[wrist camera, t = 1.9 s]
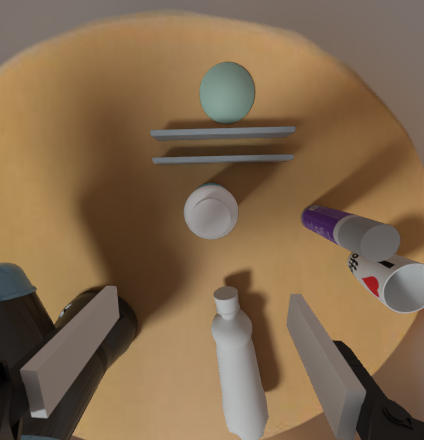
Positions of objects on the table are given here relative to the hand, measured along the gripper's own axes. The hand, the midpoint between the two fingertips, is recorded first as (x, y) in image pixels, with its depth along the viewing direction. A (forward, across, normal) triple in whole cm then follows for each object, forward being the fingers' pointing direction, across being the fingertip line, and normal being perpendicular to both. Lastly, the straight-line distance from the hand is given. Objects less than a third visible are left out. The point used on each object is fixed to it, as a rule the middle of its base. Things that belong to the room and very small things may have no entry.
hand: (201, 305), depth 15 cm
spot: (+23, +2, +23) cm, 33 cm away
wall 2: (+23, +1, +12) cm, 26 cm away
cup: (+24, +29, -6) cm, 38 cm away
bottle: (+23, +6, -26) cm, 36 cm away
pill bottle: (+23, 0, +4) cm, 24 cm away
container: (+24, +19, +2) cm, 30 cm away
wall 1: (+23, +1, +16) cm, 28 cm away
